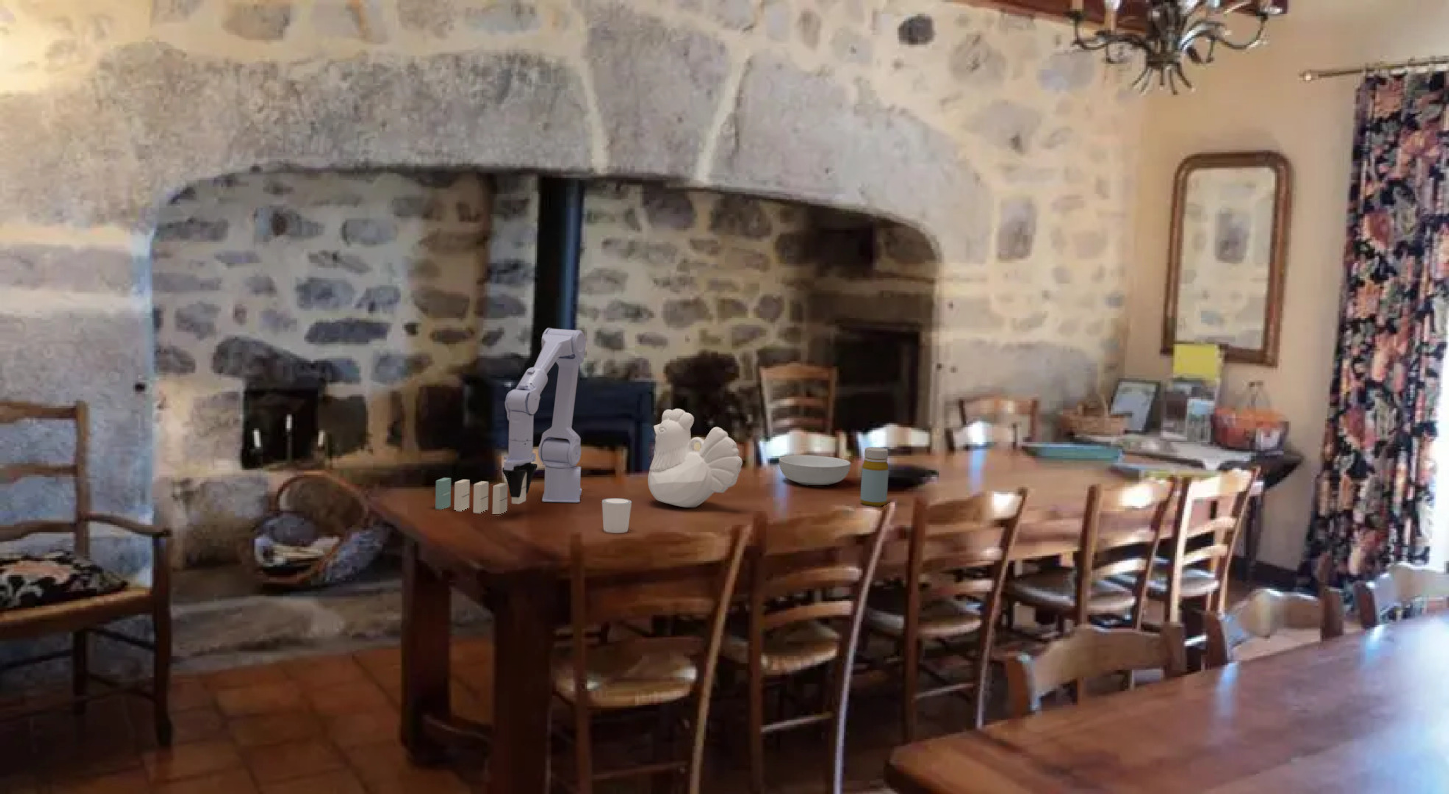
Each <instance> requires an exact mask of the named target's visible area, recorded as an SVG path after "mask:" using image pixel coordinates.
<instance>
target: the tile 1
mask: <svg viewBox="0 0 1449 794" xmlns="http://www.w3.org/2000/svg"><path fill="white" fill-rule="evenodd" d="M451 488H452V478H451V477H442V478H440V479H437V480H435V505H434V506H435V507H434V509H435V510H442V509H443V510H444V508H445V509H447V508H449V507H451V502H452V501H451V498H452V495H451V493H452V491H451V490H452V489H451Z"/></svg>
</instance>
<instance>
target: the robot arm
mask: <svg viewBox="0 0 1449 794" xmlns="http://www.w3.org/2000/svg"><path fill="white" fill-rule="evenodd" d="M586 341H587V340H586V337H585V335H584V332H583V331H582V329H576V330H575V329H564V328H563V329H562V328H561V329H560V328H552V327H547V328H546V329H545V330H544V332H543V333H542V337H541V350H540V351H539V352H540V353H539V354H538V357H537V359H536V362H535V363H534V366H533V367H529V368H528V369H526V371H525V372H524V374H523V376H522V377H521V379H520V380H519V382H518V384H517V385H516V387H515V388H514V389H512V390H510V391H508V393H507V394H506V397H505V401H504V407H505V410H506V419H507V421H508V422H509V423H508V454H507V455H504V456H503V460H505V461H504V463H503V464H504V465H503V467H502V474H503V475H504V477H505V479H506V482H507V484H508V486H507V487H508V491H509V494H510V497H511V498H512V497H517V498H519V497H520V494H521V489H522V482H523V479H524V476H525V473H526V472H527V478H526V495H528V493H529V491H530V488H531V484H532V479H533V476H534V474H535V472H536V471H537V469H538V463H534V462H536V460H537V459H536V458H537V457H536V456H537V454H538V458H539V460H540V462H541V463H542V466H544V489H543V491H544V493H543V494H542V500H541V501H542V502H543V503H545V502H546V503H580V502H581V500H580V499H581V495H582V487H581V471H582V467H581V466H577V464H578V463H579V461H580V459H581V455H582V448H581V440H582V439H581V437H580V435H579V434H578V433H577V432H576V431H575V430H574V429H573V428H572V426H573V417H574V409H575V403H576V402H575V401H576V393H577V384H578V377H579V367H580V365H581V364H582V363H584V361H585V360H584V359H585V355H586V345H587V342H586ZM555 363H556V364H557V366H558V370H557V371H558V373H557V382H556V389H555V395H554V396H555V398H554V407H553V415H552V423H551V427H550V428H548V429H547V430H545V431H544V432H543V433H542V434H541V439H540V443H539V445H538V449H537V450H538V451H537V454H536V453H535V452H533V450H534V449H533V448H534V415H535V414H536V412H537V411H538V409H539V405H540V404H539V403H540V400H541V396H540V395H541V394H542V391H544V388H545V387H546V385H547V384H548V381H549V380H548V379H549V378H548V375H547V374H549V371H550V370H551V368H552V367H553V366H554V364H555ZM564 439H565V440H564Z"/></svg>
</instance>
